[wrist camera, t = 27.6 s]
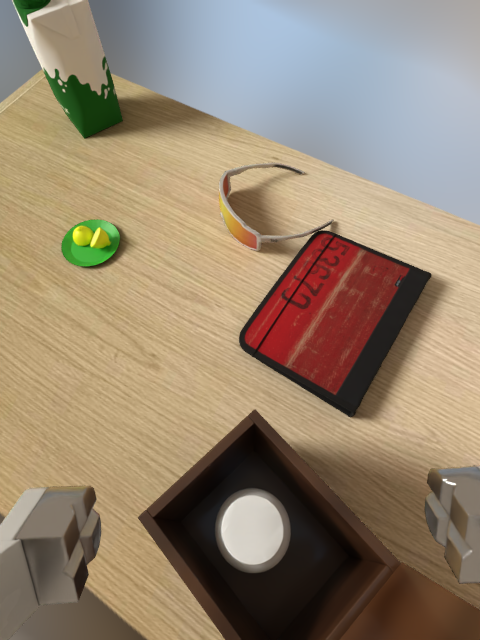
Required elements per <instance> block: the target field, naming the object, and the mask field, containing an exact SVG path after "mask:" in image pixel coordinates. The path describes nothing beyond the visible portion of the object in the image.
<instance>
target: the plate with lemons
mask: <svg viewBox="0 0 480 640" xmlns="http://www.w3.org/2000/svg"><path fill="white" fill-rule="evenodd" d="M119 241H120V237H119V232H118V230H117V229H116V227H115V226H114V225H112V224H111V223H109V222H107V221H104V220H88V221H84V222H81V223H79V224H77V225H75V226H74V227H73V228H71V229H70V230H69V231H68V232H67V234H66V235H65V237H64V239H63V241H62V253H63V255H64V257H65V258H66V259H67V260H68V261H69V262H71V263H72V264H75V265H78V266H93V265H97V264H99V263H102V262H104V261H105V260H107V259H108V258H110V257H111V256H112V255H113V254H114V252H115V251H116V249H117V248H118V245H119Z"/></svg>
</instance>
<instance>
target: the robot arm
mask: <svg viewBox="0 0 480 640" xmlns="http://www.w3.org/2000/svg"><path fill="white" fill-rule="evenodd" d="M427 483H428V485H429V486H430V488H431V490H432V491H431V493H430V494H429V495H428V496H427V497H426V499H425V514H426V520H427V524H428V527H429V529H430V532H431V534H432V536H433V537H434V539H435V541H437V542H438V543H439V544H441V545H442V546H444V547H445V548H446V549H445V559H446V561H447V562H448V564H449V566H450V568H451V569H452V571H453V573H454V575H455V576H456V578H457V580H458V582H459V583H460V584H462V583H480V465H474V466H468V467H450V468H433V469H430V471H429V473H428V480H427ZM95 502H96V496H95V491H94V488H93V487H91V486H61V487H37V488H29V489H27V490H25V491H24V492H23V494H22V495H21V496H20V498H19V499H18V501H17V502H16V504H15V505H14V506H13V508H12V509H11V511H10V512H9V514H8V515H7V517H6V518H5V520H4V521H3V522H2V524H1V525H0V640H9V639H10V637H11V636H12V635H13V634H14V633H15V632H16V631H17V630H18V629H19V628H20V627H21V626H22V625H23V624H24V623H25V622H26V621H27V620H28V619H29V618H30V617H31V615H32V614H33V613H34V612H35V611H36V610H37V609H38V608H39V605H48V604H61V603H72V602H78V601H79V598H80V596H81V593H82V591H83V588H84V585H85V583H86V580H87V577H88V575H89V574H88V569H87V564H88V563H89V562H91V561H92V560H93V559H94V558H95V556H96V553H97V551H98V548H99V543H100V537H101V521H100V515H99V514H98V513H97V512H96V511H95V510H94V509H93V506H94V504H95Z"/></svg>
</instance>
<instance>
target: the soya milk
mask: <svg viewBox="0 0 480 640" xmlns="http://www.w3.org/2000/svg"><path fill="white" fill-rule="evenodd" d="M12 2H13V4H14V6H15V8H16V11H17V13H18V15H19V18H20V20H21V22H22V24H23V27H24V29H25V31H26V34H27V36H28V38H29V40H30V43H31V45H32V47H33V49H34V52H35V54H36V56H37V58H38V60H39V62H40V64H41V67H42V69H43V71H44V73H45V76H46V78H47V80H48V82H49V84H50V87H51V89H52V91H53V93H54V95H55V97H56V99H57V101H58V102H59V104H60V105H61V107H62V108H63V110H64V112H65V113H66V115H67V116H68V117H69V119H70V120H71V121H72V123H73V124H74V125H75V127H76V128H77V129H78V131H79V132H80V133H81V134H82V136H83V137H84V138H86V137H89V136H91V135H93V134H95V133H97V132H100V131H102V130H104V129H106V128H108V127H111V126H113V125H115V124H117V123H119V122H122V121H123V119H122V115H121V111H120V107H119V103H118V99H117V95H116V91H115V87H114V84H113V80H112V77H111V74H110V71H109V67H108V64H107V61H106V58H105V54H104V51H103V48H102V45H101V42H100V38H99V35H98V32H97V29H96V26H95V22H94V19H93V16H92V13H91V10H90V6H89V3H88V0H12Z"/></svg>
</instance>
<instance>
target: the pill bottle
mask: <svg viewBox="0 0 480 640" xmlns="http://www.w3.org/2000/svg"><path fill="white" fill-rule="evenodd" d="M215 537H216V542H217V546H218V548H219V550H220V552H221V554H222V556H223V557H224V558H225V560H226V561H227V562H228V563H229V564H230V565H231V566H233V567H234V568H236V569H238V570H240V571H242V572H246V573H261V572H264V571H267V570H269V569H271V568H273V567H274V566H275V565H276V564H278V563H279V562H280V560H281V559H282V558H283V556H284V555H285V553H286V551H287V549H288V546H289V542H290V537H291V527H290V521H289V517H288V514H287V512H286V510H285V508H284V506H283V505H282V503H281V502H280V501H279V500H278V499H277V498H276V497H275V496H274V495H272V494H271V493H269V492H267V491H265V490H262V489H257V488H247V489H242V490H239V491H237V492H235V493H234V494H232V495H231V496H230V497H228V498H227V499H226V501H225V502H224V503H223V504H222V506H221V508H220V510H219V512H218V515H217V518H216V523H215Z"/></svg>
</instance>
